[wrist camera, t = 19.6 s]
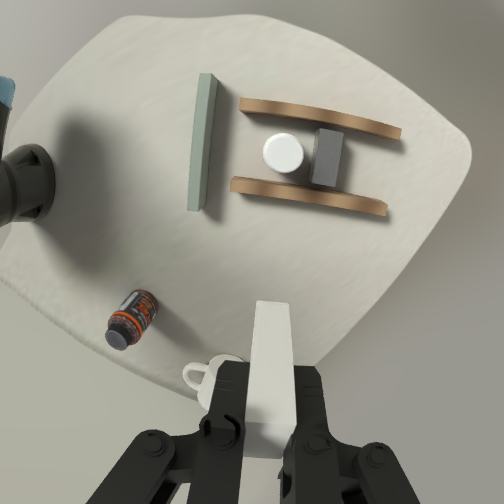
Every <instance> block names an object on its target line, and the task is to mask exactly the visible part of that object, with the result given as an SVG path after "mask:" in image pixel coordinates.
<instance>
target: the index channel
mask: <svg viewBox="0 0 504 504" xmlns="http://www.w3.org/2000/svg"><path fill="white" fill-rule="evenodd" d="M239 110H240V111H241V112H245V113H255V114H265V115H273V116H281V117H288V118H294V119H301V120H307V121H313V122H318V123H323V124H329V125H334V126H338V127H343V128H347V129H352V130H356V131H360V132H364V133H368V134H372V135H376V136H380V137H383V138H387V139H390V140H400V136H401V128H397V127H394V126H391V125H387V124H384V123H381V122H377V121H373V120H370V119H366V118H362V117H358V116H354V115H349V114H345V113H341V112H336V111H331V110H326V109H321V108H316V107H310V106H304V105H298V104H291V103H284V102H277V101H269V100H259V99H249V98H240V104H239ZM230 192H239V193H247V194H255V195H262V196H270V197H277V198H284V199H290V200H297V201H303V202H310V203H316V204H322V205H328V206H334V207H339V208H345V209H350V210H356V211H361V212H366V213H371V214H376V215H381V216H386V212H387V207H388V205H387V204H386V203H384V202H383V201H381V200H377V199H373V198H368V197H363V196H358V195H353V194H348V193H343V192H337V191H332V190H326V189H321V188H315V187H309V186H303V185H296V184H290V183H283V182H276V181H269V180H261V179H253V178H245V177H236V176H234V177H233V178H232V179H231V185H230Z"/></svg>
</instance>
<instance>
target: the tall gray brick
mask: <svg viewBox="0 0 504 504" xmlns="http://www.w3.org/2000/svg"><path fill="white" fill-rule="evenodd" d="M343 135H344V133H342V132H337V131H332V130H327V129H322V128H319V129H316V135H315V142H314V149H313V156H312V163H311V170H310V176H309V180H310V181H311V182H312V183H315V184H321V185H326V186H332V187H335V186H336V180H337V174H338V168H339V162H340V156H341V149H342V142H343Z"/></svg>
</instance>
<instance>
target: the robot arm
mask: <svg viewBox="0 0 504 504" xmlns="http://www.w3.org/2000/svg"><path fill="white" fill-rule="evenodd" d="M14 92H15V83H14V81H13V80H12V79H10V78H7V77H4V76H0V227H2V226H4V225H6V224H8V223H10V222H31V221H35V220H37V219H39V218H41V217H43V216H44V215H46V213H47V212H48V211H49V209H50V207H51V205H52V202H53V198H54V193H55V176H54V170H53V166H52V163H51V160H50V158H49V156H48V154H47V153H46V151H45V150H44V149H43V148H42V147H41V146H39V145H37V144H27V145H23V146H20V147H18V148H17V149H15V150H14V151H12V152H11V153H9V154H8V155H6V156H5V157H3V158H2V151H3V144H4V139H5V134H6V128H7V123H8V119H9V114H10V111H11V110H12V106H11V105H12V101H13V97H14ZM199 429H200V430H199V431H197V432H195V433H193V434H189V435H180V436H169V435H168V434H166V433H165V432H163V431H160V430H156V429H155V430H146V431H144V432H141V433H140V434H139V435H137V436H136V437H135V439H134V440H133V441H132V443H131V444H130V445H129V447H128V448H127V449H126V451H125V452H124V454H123V455H122V456H121V458H120V459H119V460H118V462H117V463H116V464H115V466H114V467H113V468H112V470H111V471H110V472H109V474H108V475H107V476H106V478H105V479H104V480H103V482H102V483H101V484H100V486H99V487H98V488H97V489H96V491H95V492H94V493H93V495H92V496H91V497H90V499H89V500H88V502H87V503H86V504H170V503H171V501H172V499H173V497H174V496H175V494H176V492H177V491H178V489H179V487H180V485H181V484H182V483H191V485H190V490H189V494H188V499H187V504H238V498H239V488H240V479H241V469H242V459H243V456H244V457H256V458H272V459H273V458H274V459H281V458H282V456H283V467H282V469H281V471H280V472H279V474H278V479H281V483H280V504H420V502H419V500H418V498H417V496H416V494H415V492H414V490H413V488H412V486H411V485H410V483H409V481H408V479H407V477H406V475H405V473H404V471H403V469H402V468H401V466H400V464H399V462H398V460H397V458H396V456H395V454H394V453H393V451H392V450H391V449H390V447H389V446H387V445H385V444H383V443H379V442H374V443H369V444H367V445H365V446H363V448H361V447H356V446H352V445H347V444H344V443H341V442H339V441H337V440H336V439H335V438H334V437H333V436H332V435H331V433H330V432H329V429H328V424H327V417H326V409H325V402H324V397H323V389H322V382H321V376H320V374H319V373H318V371H317V370H316V369H315V367H314V366H296V365H293V353H292V339H291V326H290V314H289V303H279V302H269V301H259V300H257V302H256V311H255V320H254V329H253V338H252V347H251V357H250V363H249V362H240V361H231V360H225V361H224V362H223V363H222V364H221V365H220V367H219V368H218V371H217V375H216V381H215V384H214V389H213V393H212V398H211V403H210V407H209V412H208V414H207V415H206V416H204V417H203V418H202V420H201V422H200V424H199Z"/></svg>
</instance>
